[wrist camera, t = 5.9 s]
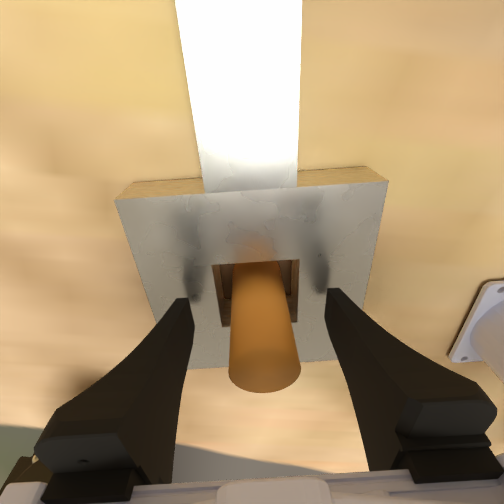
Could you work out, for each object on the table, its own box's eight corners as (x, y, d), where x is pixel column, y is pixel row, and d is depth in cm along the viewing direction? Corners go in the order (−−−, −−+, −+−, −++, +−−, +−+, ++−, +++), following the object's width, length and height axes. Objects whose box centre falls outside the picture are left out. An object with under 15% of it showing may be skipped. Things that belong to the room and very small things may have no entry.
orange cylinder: (277, 249, 16) (298, 343, 10) (282, 287, 18) (302, 388, 12) (228, 256, 16) (221, 352, 10) (237, 293, 18) (235, 396, 12)
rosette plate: (402, -61, 10) (447, -103, 8) (340, 330, 20) (351, 358, 18) (69, -36, 10) (20, -71, 8) (180, 340, 20) (172, 370, 18)
